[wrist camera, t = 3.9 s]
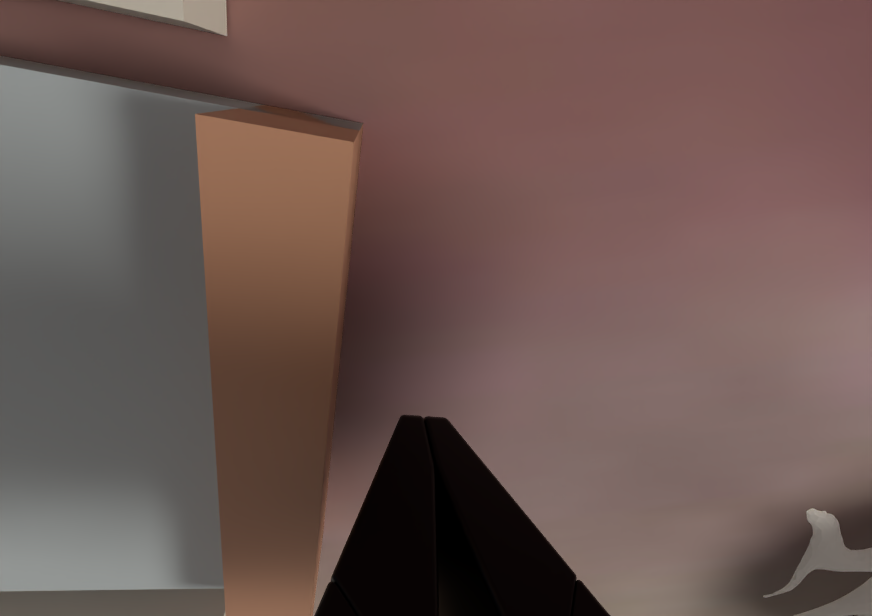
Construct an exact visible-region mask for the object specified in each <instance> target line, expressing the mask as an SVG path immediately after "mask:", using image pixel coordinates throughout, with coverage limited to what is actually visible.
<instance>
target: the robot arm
mask: <svg viewBox="0 0 872 616" xmlns="http://www.w3.org/2000/svg"><path fill="white" fill-rule="evenodd" d="M315 616H610V615H609V614H608V613H607V611H606V610H605V609H604V608H603V607H602V606H601V604H600V603H599V602H598V601H597V600H596V598H595V597H594V596H593V595H592V594H591V592H590V591H589V590H588V589H587V587H586V586H585V585H584V584H583V583H582V581H580V580H577V581H576V575H575V573H574V572H573V571H572V570H571V568H570V567H569V566H568V565H567V564H566V562H565V561H564V560H563V559H562V557H561V556H560V555H559V554H558V553H557V551H556V550H555V549H554V548H553V547H552V545H551V544H550V543H549V542H548V541H547V539H546V538H545V537H544V536H543V534H542V533H541V532H540V531H539V530H538V528H537V527H536V526H535V525H534V524H533V522H532V521H531V520H530V519H529V517H528V516H527V515H526V514H525V513H524V511H523V510H522V509H521V508H520V507H519V505H518V504H517V503H516V502H515V501H514V499H513V498H512V497H511V496H510V494H509V493H508V492H507V491H506V490H505V488H504V487H503V486H502V485H501V484H500V482H499V481H498V480H497V479H496V478H495V476H494V475H493V474H492V473H491V471H490V470H489V469H488V468H487V467H486V465H485V464H484V463H483V462H482V461H481V459H480V458H479V457H478V456H477V454H476V453H475V452H474V451H473V450H472V448H471V447H470V446H469V445H468V444H467V442H466V441H465V440H464V439H463V438H462V436H461V435H460V434H459V433H458V431H457V430H456V429H455V428H454V427H453V425H452V424H451V423H450V422H449V421H448V420H447V419H446V418H443V417H429V416H428V417H425V418H424V419H423V418H422V417H421V416H414V415H402V416H401V417H400V418H399V421H398V423H397V425H396V428H395V430H394V432H393V435H392V437H391V439H390V442H389V444H388V446H387V449H386V451H385V453H384V456H383V458H382V460H381V463H380V465H379V467H378V470H377V472H376V474H375V477H374V479H373V481H372V484H371V486H370V488H369V491H368V493H367V495H366V498H365V500H364V502H363V505H362V507H361V509H360V512H359V514H358V516H357V519H356V521H355V523H354V526H353V528H352V530H351V533H350V535H349V537H348V540H347V542H346V544H345V547H344V549H343V551H342V554H341V556H340V558H339V561H338V563H337V565H336V568H335V570H334V572H333V575H332V577H331V582H330V583H329V584H328V586H327V588H326V590H325V593H324V595H323V597H322V600H321V602H320V604H319V607H318V609H317V611H316V613H315Z"/></svg>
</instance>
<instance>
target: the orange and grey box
mask: <svg viewBox="0 0 872 616" xmlns="http://www.w3.org/2000/svg"><path fill="white" fill-rule="evenodd" d="M362 132H363V123H359V122H353V121H348V120H343V119H337V118H332V117H327V116H321V115H316V114H311V113H305V112H300V111H295V110H289V109H284V108H279V107H273V106H268V105H262V104H257V103H252V102H246V101H241V100H236V99H230V98H225V97H220V96H214V95H209V94H204V93H198V92H193V91H188V90H182V89H177V88H172V87H166V86H161V85H155V84H150V83H145V82H139V81H134V80H129V79H123V78H118V77H113V76H107V75H102V74H97V73H91V72H86V71H81V70H75V69H70V68H65V67H59V66H54V65H48V64H43V63H38V62H32V61H27V60H22V59H16V58H11V57H6V56H0V591H68V590H144V589H220V588H224V597H225V613H226V616H312V615H313V608H314V600H315V592H316V584H317V576H318V569H319V561H320V553H321V545H322V538H323V529H324V519H325V508H326V498H327V488H328V478H329V468H330V457H331V447H332V437H333V427H334V417H335V407H336V396H337V386H338V376H339V366H340V356H341V346H342V335H343V325H344V315H345V305H346V295H347V284H348V274H349V264H350V254H351V244H352V234H353V223H354V213H355V203H356V193H357V183H358V172H359V162H360V152H361V142H362Z"/></svg>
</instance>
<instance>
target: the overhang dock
mask: <svg viewBox="0 0 872 616" xmlns="http://www.w3.org/2000/svg"><path fill="white" fill-rule="evenodd" d="M58 1H63V2H68V3H72V4H77V5H82V6H87V7H91V8H96V9H101V10H105V11H110V12H115V13H119V14H124V15H129V16H134V17H138V18H143V19H148V20H152V21H157V22H162V23H167V24H171V25H176V26H181V27H185V28H190V29H195V30H200V31H204V32H209V33H214V34H218V35H223V36H227V13H226V0H58ZM0 616H226V613H225V597H224V588H220V589H144V590H68V591H0Z"/></svg>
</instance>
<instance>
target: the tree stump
mask: <svg viewBox="0 0 872 616" xmlns="http://www.w3.org/2000/svg"><path fill="white" fill-rule="evenodd" d="M806 513H807V520H808V522H809V523H810V524H811V525H812V529H813V535H812V537H811V539H810V543H809V545H808V548H807V550H806V552H805V554H804V556H803V557H802V559H801V561H800V563H799V565H798V567H797V569H796V571H795V573H794V575H793V577H792V579H791V581H790V582H789V583H788V584H787V585H786V586H785V587H784V588H782V589H781V590H779V591H776V592H774V593H772V594H768V595H763V597H764V598H768V597H771V596H774V595H778V594H781V593H785V592H788V591H791V590H792V589H794V588H795V587H796V586H797V585H798V584H799V583H800V582H801V581H802V580H803V579H804V578H805V577H806V575H807V574H809V573H810V572H811V571H812V570H816V569H823V570H830V571H838V572H872V547H871V548H867V549H863V550H850V549H848V548H847V547H845V545H844V542H843V538H842V536H841V531H840V525H839V522H838V520H837V519H836V518H835V516H834V515H832V514H827V513H826V511H818V510H816V509H814V508H811V509H809V510H808V511H806ZM848 615H857V616H872V577H871V578H870V579H868V580H867V581H866V582H865V583H863V584H862V585H861V586H859V587H858V588H856V589H855V590H853V591H852V592H850V593H848V594H847V595H845V596H843V597H841V598H839V599H837V600H835V601H833V602H831V603H828V604H826V605H823V606H821V607H818V608H815V609H812V610H809V611H806V612H803V613H800V614H797V615H794V616H848Z"/></svg>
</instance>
